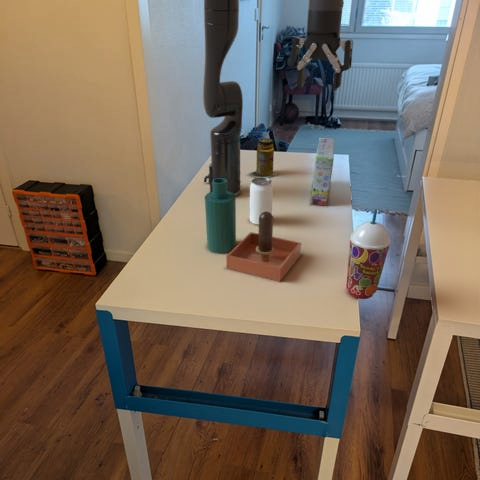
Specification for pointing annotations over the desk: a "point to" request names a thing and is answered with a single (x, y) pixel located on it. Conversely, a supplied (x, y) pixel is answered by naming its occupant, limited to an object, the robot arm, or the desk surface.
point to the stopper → (265, 236)
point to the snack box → (323, 171)
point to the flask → (220, 218)
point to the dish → (250, 260)
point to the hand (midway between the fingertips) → (318, 88)
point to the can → (260, 198)
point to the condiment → (264, 159)
